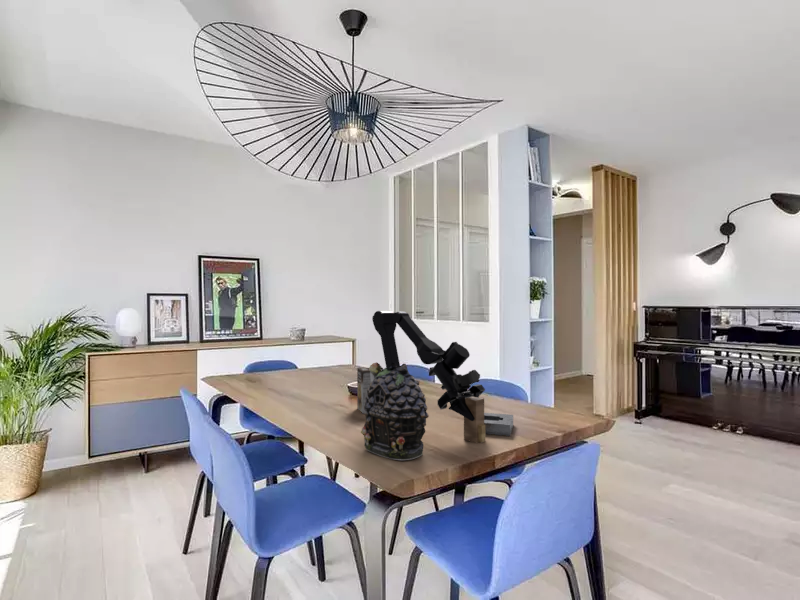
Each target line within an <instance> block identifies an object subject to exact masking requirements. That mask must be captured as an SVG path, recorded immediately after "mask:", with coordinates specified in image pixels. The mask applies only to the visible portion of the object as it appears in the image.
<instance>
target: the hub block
mask: <svg viewBox="0 0 800 600" xmlns="http://www.w3.org/2000/svg"><path fill="white" fill-rule="evenodd" d="M484 424H485V435H491V434H495V435H494V436H502V435H506V437H511V434H512V432H513V428H514V414H506V413H492V412H484Z"/></svg>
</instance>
